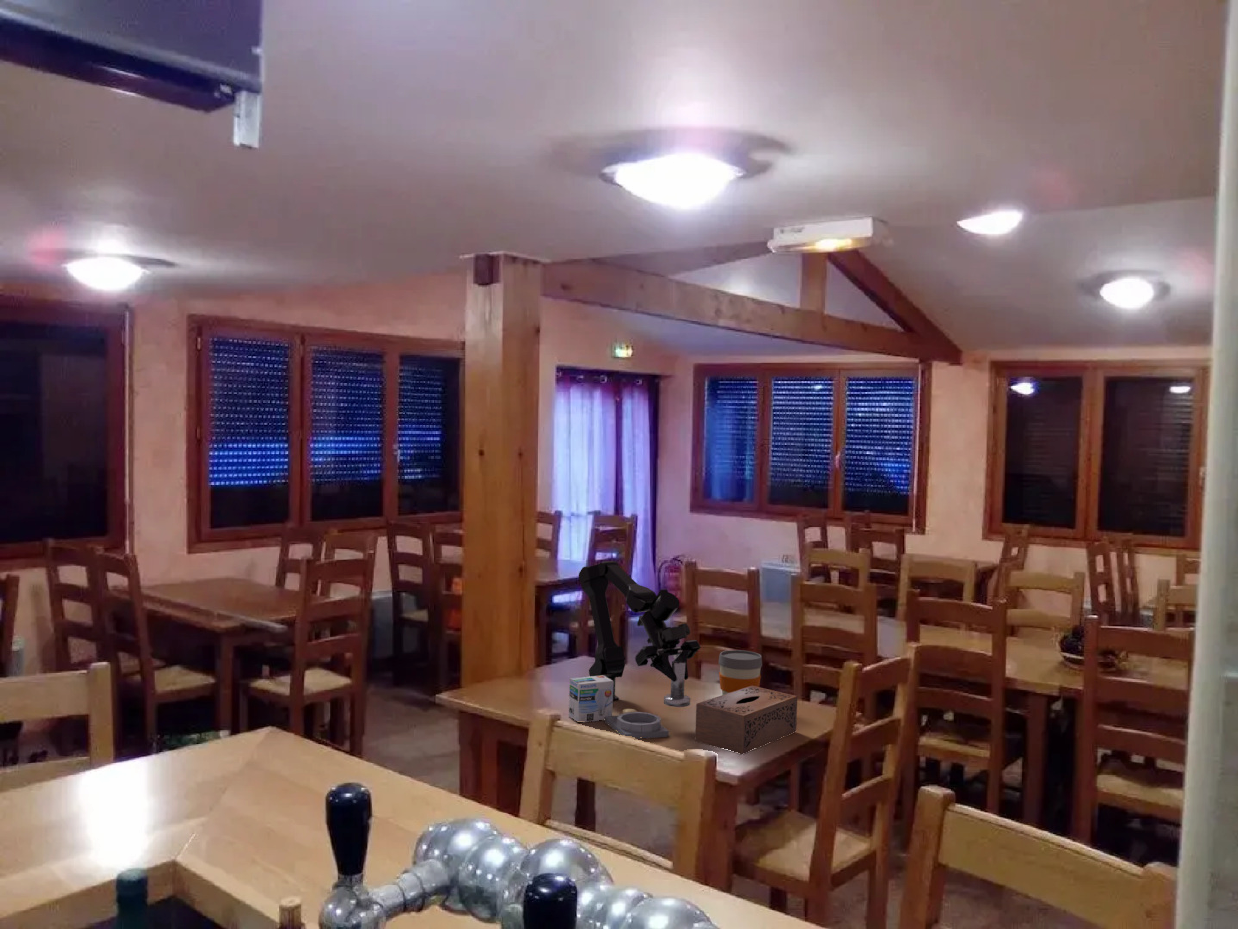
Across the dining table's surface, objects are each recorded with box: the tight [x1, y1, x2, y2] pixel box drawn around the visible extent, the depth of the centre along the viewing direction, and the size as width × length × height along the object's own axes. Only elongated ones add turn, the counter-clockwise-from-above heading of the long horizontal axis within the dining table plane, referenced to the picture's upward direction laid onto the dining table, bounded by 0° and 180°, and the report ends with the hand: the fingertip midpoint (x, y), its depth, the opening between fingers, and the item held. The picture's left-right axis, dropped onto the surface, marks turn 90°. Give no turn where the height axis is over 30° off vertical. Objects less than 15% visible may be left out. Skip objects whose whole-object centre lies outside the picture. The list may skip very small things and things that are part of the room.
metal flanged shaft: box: [663, 660, 691, 708], centre depth 268 cm, size 7×7×11 cm
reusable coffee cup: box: [718, 649, 763, 696], centre depth 292 cm, size 13×12×15 cm
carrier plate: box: [603, 708, 670, 740], centre depth 267 cm, size 16×12×4 cm
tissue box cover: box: [694, 686, 798, 755], centre depth 264 cm, size 26×14×10 cm, turn 139°
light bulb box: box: [568, 675, 614, 723], centre depth 275 cm, size 11×7×11 cm, turn 117°
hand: (681, 680), depth 267 cm, fingers closed on metal flanged shaft, 4 cm apart
